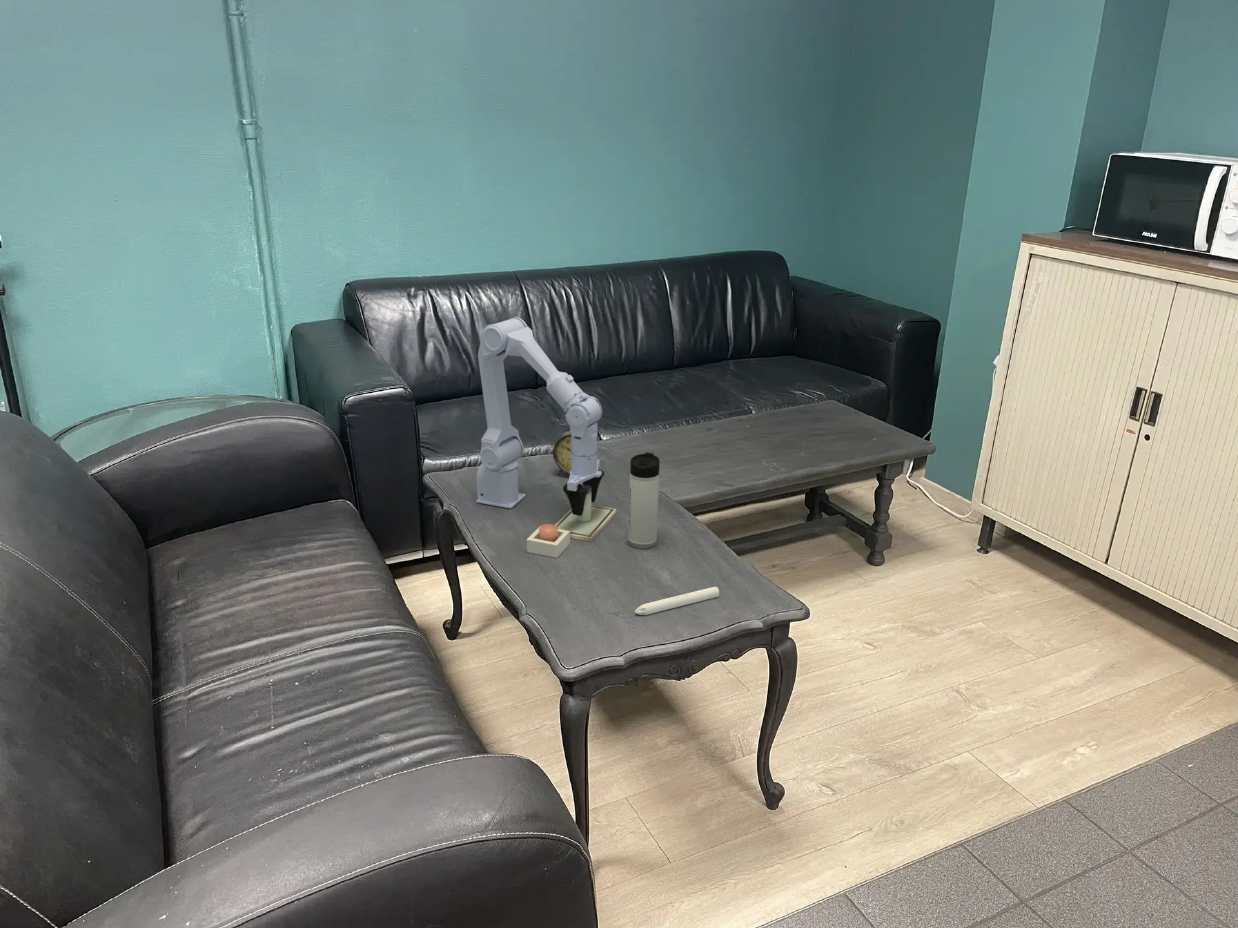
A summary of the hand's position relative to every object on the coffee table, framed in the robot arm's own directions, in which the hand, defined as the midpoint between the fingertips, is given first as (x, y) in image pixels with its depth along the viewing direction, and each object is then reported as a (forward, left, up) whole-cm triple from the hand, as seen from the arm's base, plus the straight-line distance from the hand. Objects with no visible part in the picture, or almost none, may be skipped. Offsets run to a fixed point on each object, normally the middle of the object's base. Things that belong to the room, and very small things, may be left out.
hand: (584, 507), depth 194 cm
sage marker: (0, 0, -3) cm, 3 cm away
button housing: (-2, -14, -4) cm, 15 cm away
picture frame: (0, 0, -4) cm, 4 cm away
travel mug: (+16, -4, -4) cm, 16 cm away
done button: (-2, -14, -2) cm, 14 cm away
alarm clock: (-12, +25, -4) cm, 28 cm away
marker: (+30, -26, -4) cm, 40 cm away
